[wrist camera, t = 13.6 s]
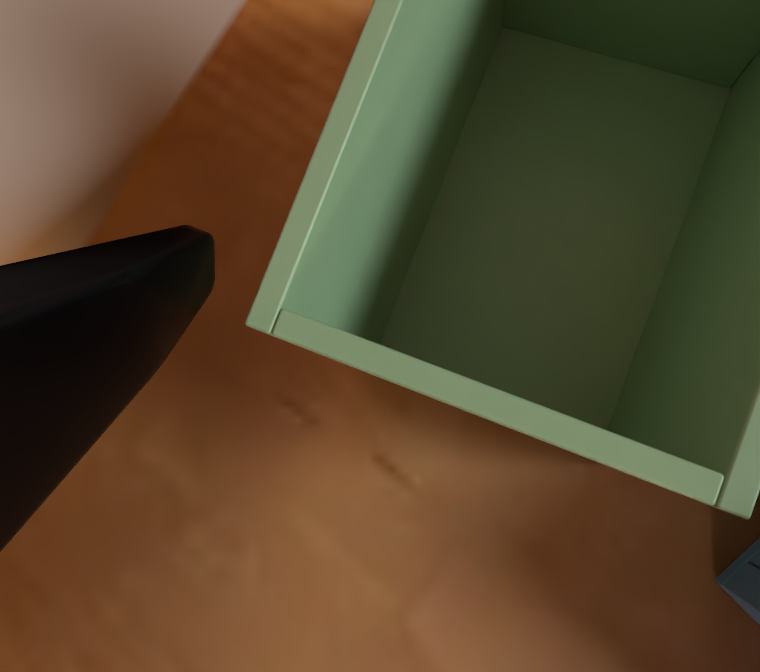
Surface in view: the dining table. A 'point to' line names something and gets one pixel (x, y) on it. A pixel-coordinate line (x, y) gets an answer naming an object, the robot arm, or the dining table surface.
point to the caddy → (547, 227)
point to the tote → (744, 580)
